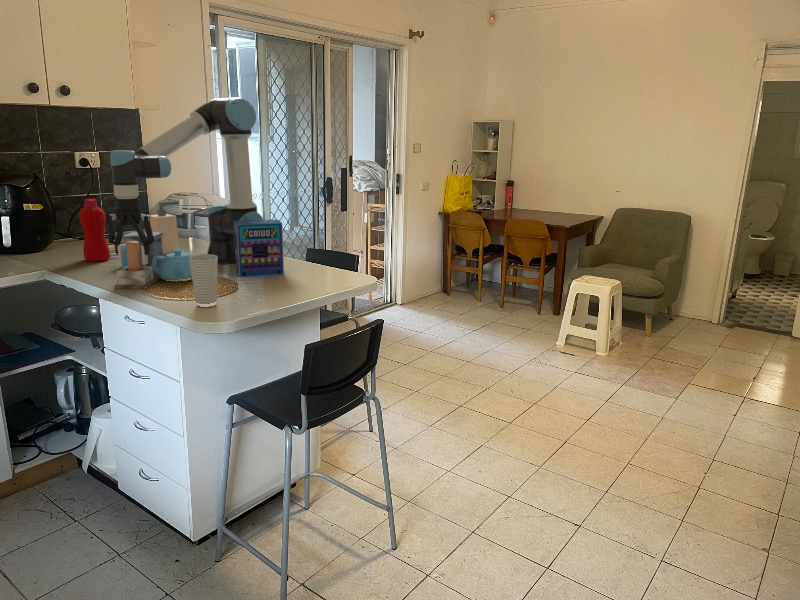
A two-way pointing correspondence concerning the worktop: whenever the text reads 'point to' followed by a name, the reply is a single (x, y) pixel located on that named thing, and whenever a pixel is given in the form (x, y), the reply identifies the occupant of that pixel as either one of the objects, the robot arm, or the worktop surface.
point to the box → (258, 248)
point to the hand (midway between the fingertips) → (133, 263)
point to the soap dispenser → (166, 227)
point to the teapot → (173, 266)
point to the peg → (133, 255)
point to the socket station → (141, 265)
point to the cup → (204, 277)
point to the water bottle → (94, 232)
